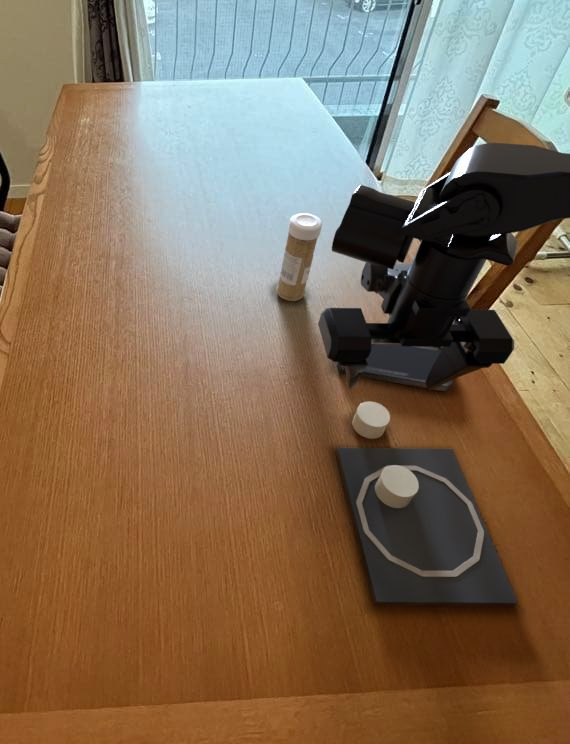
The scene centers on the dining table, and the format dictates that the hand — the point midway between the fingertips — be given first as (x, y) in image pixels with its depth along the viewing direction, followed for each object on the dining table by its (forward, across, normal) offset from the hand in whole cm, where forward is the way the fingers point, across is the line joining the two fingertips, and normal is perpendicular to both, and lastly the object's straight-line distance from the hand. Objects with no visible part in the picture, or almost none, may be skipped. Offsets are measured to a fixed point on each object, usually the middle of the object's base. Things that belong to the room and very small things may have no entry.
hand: (388, 386), depth 64 cm
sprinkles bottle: (+8, +6, -26) cm, 28 cm away
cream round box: (+8, 0, 0) cm, 8 cm away
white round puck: (+7, 0, +10) cm, 12 cm away
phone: (+8, -6, -11) cm, 15 cm away
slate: (+8, -2, +13) cm, 15 cm away
